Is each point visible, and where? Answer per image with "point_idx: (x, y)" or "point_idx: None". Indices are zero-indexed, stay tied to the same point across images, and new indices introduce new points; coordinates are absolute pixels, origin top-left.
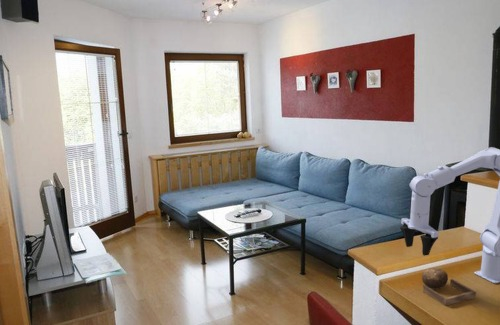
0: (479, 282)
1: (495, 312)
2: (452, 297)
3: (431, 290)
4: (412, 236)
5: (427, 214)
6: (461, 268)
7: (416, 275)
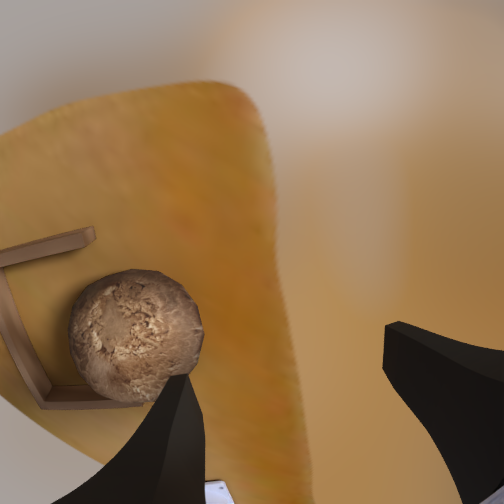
0: None
1: None
2: None
3: (36, 246)
4: (432, 424)
5: None
6: (269, 467)
7: (262, 291)
